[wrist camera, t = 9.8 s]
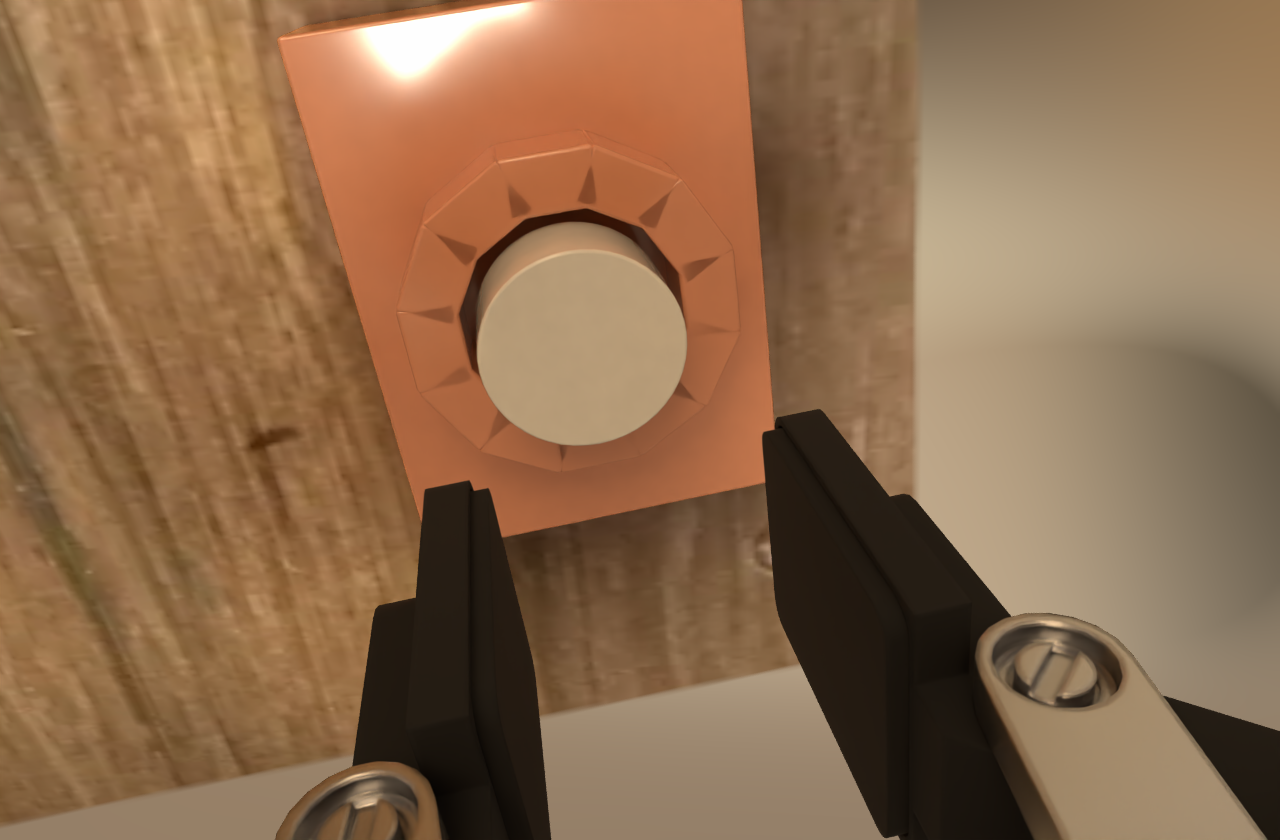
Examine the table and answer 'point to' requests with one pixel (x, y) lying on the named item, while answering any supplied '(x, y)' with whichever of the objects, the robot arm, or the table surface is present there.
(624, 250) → the button
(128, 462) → the table surface
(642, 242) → the orange button base
